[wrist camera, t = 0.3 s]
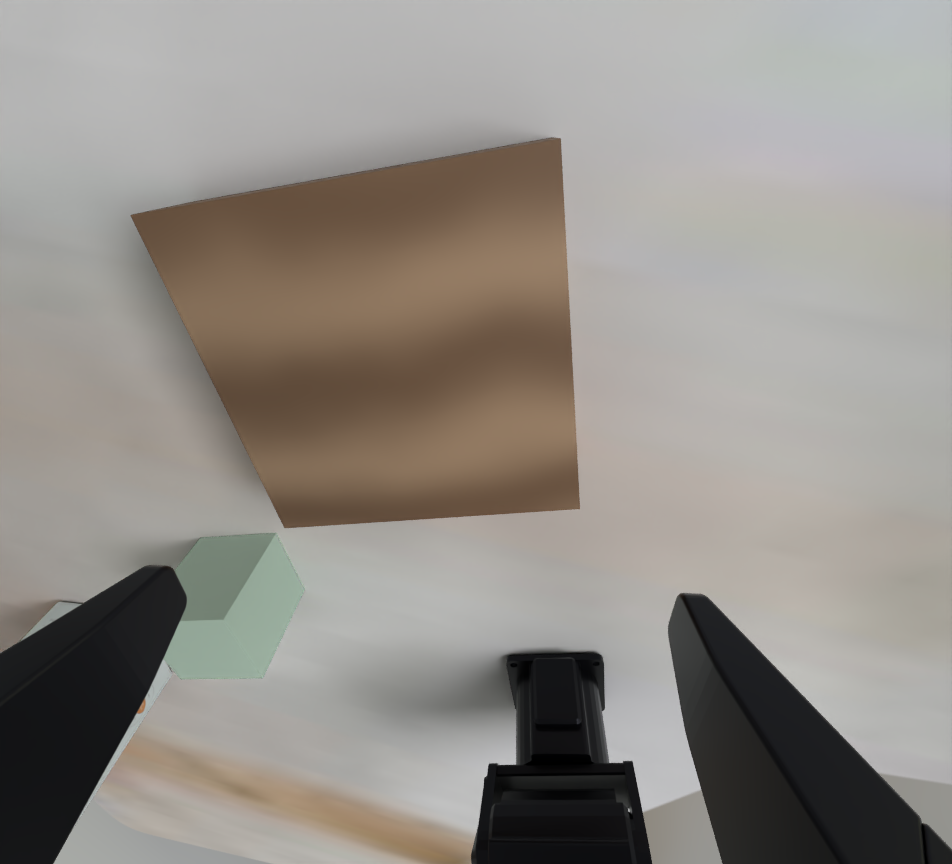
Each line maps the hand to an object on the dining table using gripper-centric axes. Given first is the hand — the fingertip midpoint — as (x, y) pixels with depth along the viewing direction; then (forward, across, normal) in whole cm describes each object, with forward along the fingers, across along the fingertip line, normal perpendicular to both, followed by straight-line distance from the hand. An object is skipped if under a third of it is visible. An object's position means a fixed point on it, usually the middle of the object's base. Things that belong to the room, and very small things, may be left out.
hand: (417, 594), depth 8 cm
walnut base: (+15, +3, +1) cm, 15 cm away
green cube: (+14, +14, +16) cm, 26 cm away
